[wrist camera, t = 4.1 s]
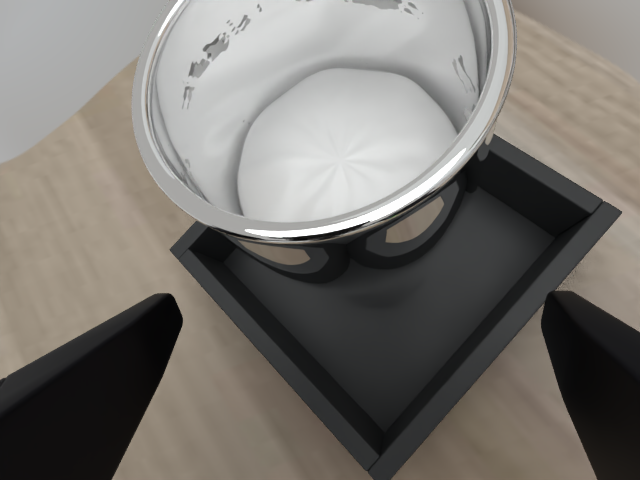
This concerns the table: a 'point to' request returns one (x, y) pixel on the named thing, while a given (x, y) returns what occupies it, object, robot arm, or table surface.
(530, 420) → the table surface
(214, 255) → the bin
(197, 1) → the metal tumbler
